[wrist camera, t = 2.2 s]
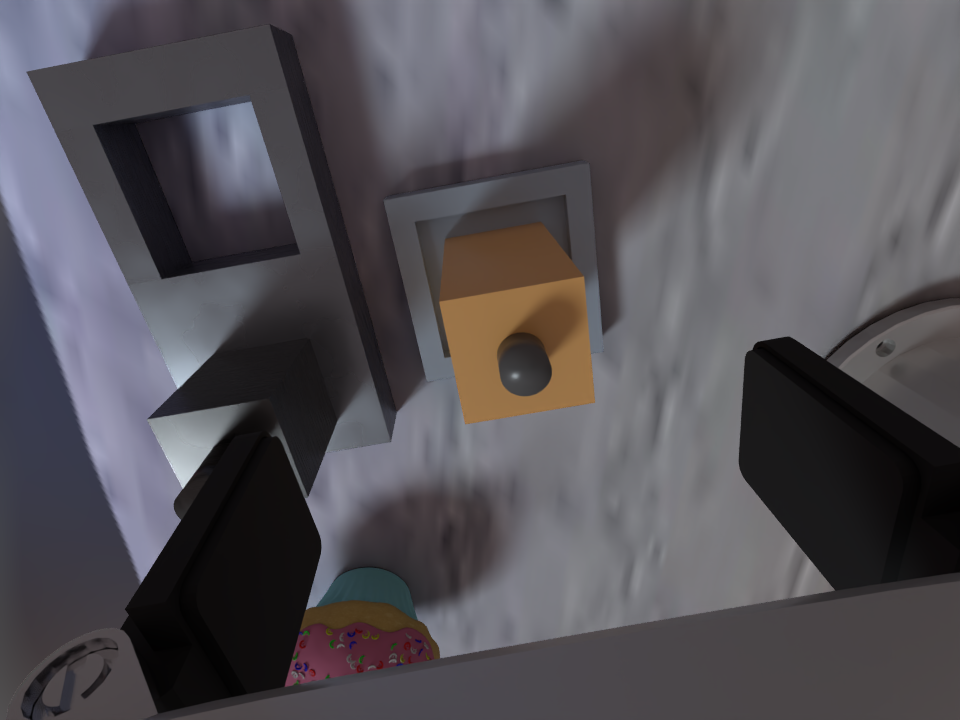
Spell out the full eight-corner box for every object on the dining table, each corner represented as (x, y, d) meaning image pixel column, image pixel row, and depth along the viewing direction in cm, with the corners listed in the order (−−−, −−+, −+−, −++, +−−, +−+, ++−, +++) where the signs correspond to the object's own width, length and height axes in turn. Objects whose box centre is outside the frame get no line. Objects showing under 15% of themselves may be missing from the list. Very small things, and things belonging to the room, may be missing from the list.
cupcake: (417, 528, 29) (394, 780, 18) (459, 629, 32) (461, 890, 22) (271, 562, 29) (163, 825, 19) (327, 658, 33) (264, 925, 22)
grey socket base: (77, 76, 19) (-260, 43, 10) (291, 35, 19) (141, -38, 10) (237, 439, 26) (121, 612, 17) (396, 412, 26) (364, 574, 17)
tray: (582, 160, 21) (589, 162, 20) (597, 341, 24) (603, 351, 23) (386, 196, 21) (383, 200, 20) (428, 369, 25) (427, 381, 24)
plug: (540, 221, 21) (594, 289, 13) (551, 312, 23) (605, 423, 15) (444, 238, 22) (438, 317, 13) (462, 327, 23) (465, 446, 15)
